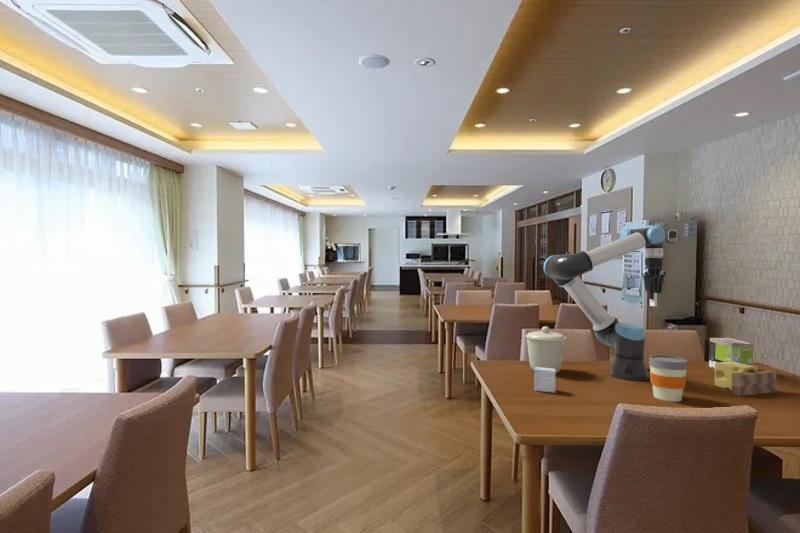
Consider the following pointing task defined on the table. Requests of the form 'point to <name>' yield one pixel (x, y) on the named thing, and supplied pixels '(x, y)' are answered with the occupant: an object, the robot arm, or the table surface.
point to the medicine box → (545, 379)
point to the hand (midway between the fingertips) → (653, 305)
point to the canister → (545, 349)
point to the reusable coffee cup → (668, 377)
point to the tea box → (730, 351)
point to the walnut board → (753, 383)
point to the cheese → (729, 372)
